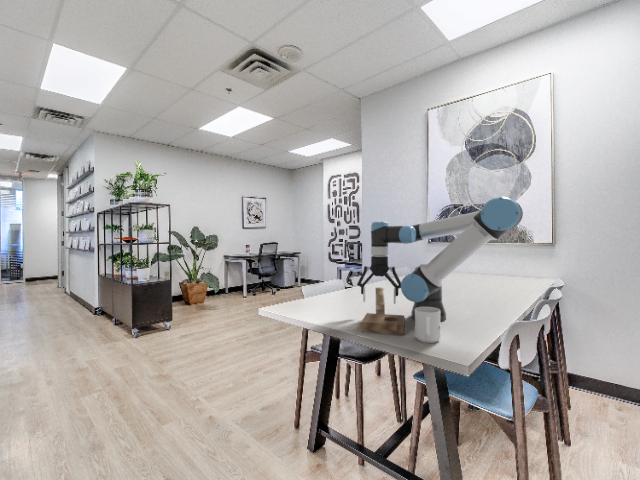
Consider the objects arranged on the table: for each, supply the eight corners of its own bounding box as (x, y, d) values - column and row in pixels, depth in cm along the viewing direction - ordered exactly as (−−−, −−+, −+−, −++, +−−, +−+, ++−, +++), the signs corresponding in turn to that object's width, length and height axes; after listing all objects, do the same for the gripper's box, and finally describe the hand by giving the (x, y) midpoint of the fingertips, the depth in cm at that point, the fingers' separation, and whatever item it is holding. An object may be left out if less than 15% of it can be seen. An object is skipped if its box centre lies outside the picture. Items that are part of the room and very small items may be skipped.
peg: (385, 317, 147) (385, 287, 147) (384, 320, 143) (384, 289, 143) (376, 317, 149) (376, 287, 148) (375, 319, 145) (374, 288, 144)
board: (404, 324, 136) (404, 315, 136) (402, 335, 123) (402, 324, 123) (366, 322, 141) (366, 313, 141) (361, 331, 127) (361, 321, 127)
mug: (415, 334, 123) (414, 306, 123) (439, 336, 121) (439, 307, 120) (414, 345, 112) (414, 313, 111) (442, 347, 109) (441, 315, 109)
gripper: (408, 255, 145) (408, 302, 146) (354, 254, 152) (354, 298, 153) (407, 257, 138) (407, 305, 139) (350, 255, 145) (350, 302, 146)
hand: (379, 302), depth 146 cm, fingers open, 13 cm apart
